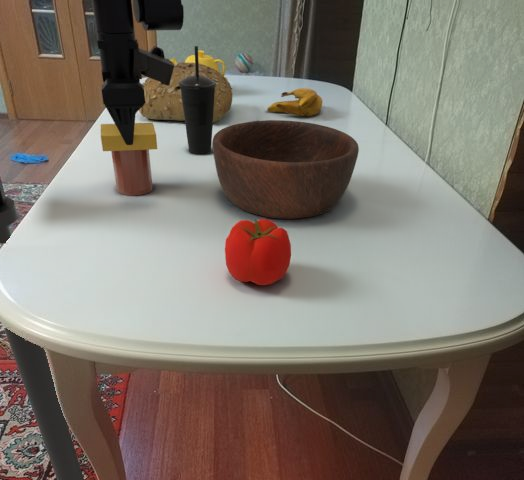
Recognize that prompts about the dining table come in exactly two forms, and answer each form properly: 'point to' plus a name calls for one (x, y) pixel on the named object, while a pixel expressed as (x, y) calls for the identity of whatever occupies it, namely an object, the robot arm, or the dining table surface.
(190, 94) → the drinking cup
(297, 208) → the wooden bowl
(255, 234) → the tomato
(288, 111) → the banana
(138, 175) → the cup
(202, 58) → the teapot
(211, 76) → the bread
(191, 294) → the dining table surface
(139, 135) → the block
